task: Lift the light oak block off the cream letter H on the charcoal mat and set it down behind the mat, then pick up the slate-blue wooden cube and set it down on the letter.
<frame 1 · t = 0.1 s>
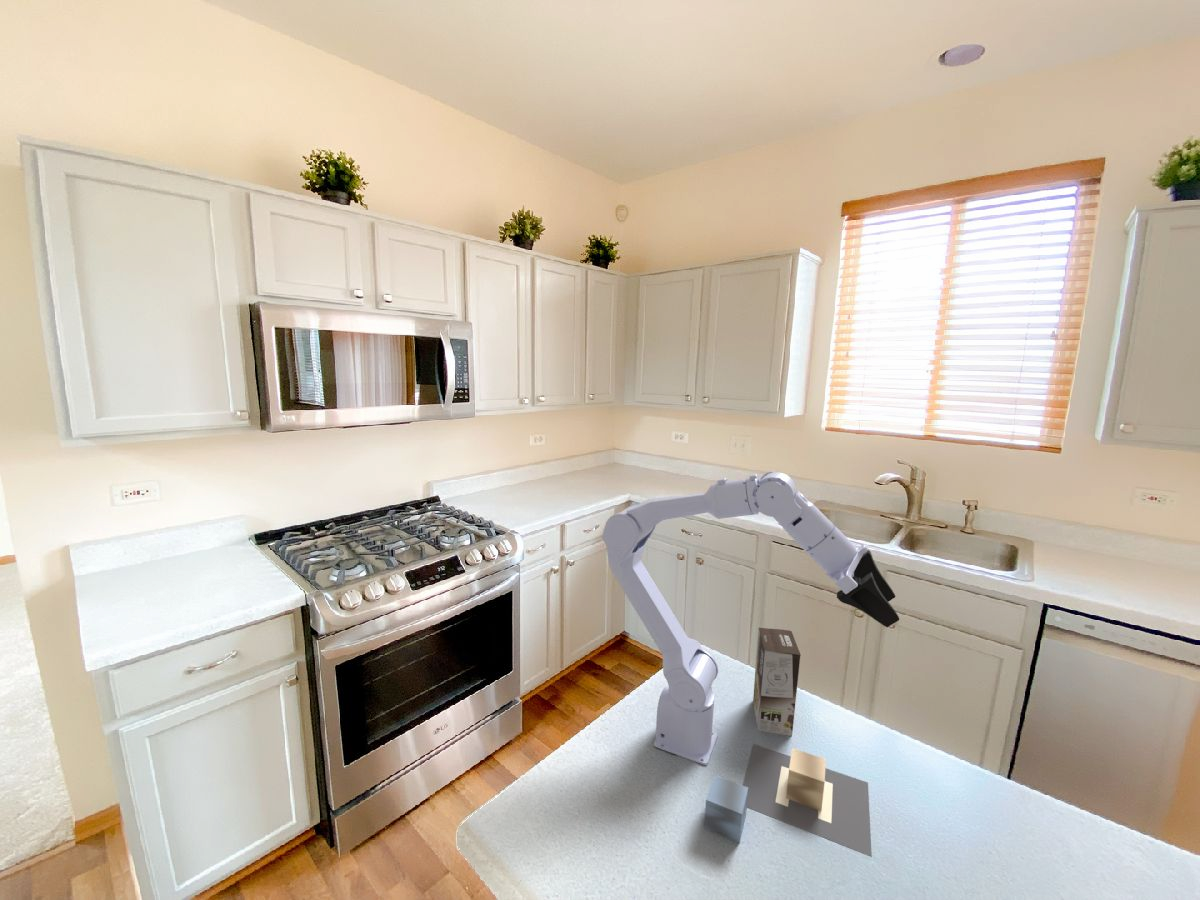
hand: (891, 610, 71), 32 cm above the counter, tool tilted 50°, fingers open, 7 cm apart
letter mat: (804, 793, 78), on the counter
slate blue cube: (725, 823, 73), on the counter
oak block: (804, 792, 78), resting on letter mat
coffee box: (771, 718, 95), on the counter
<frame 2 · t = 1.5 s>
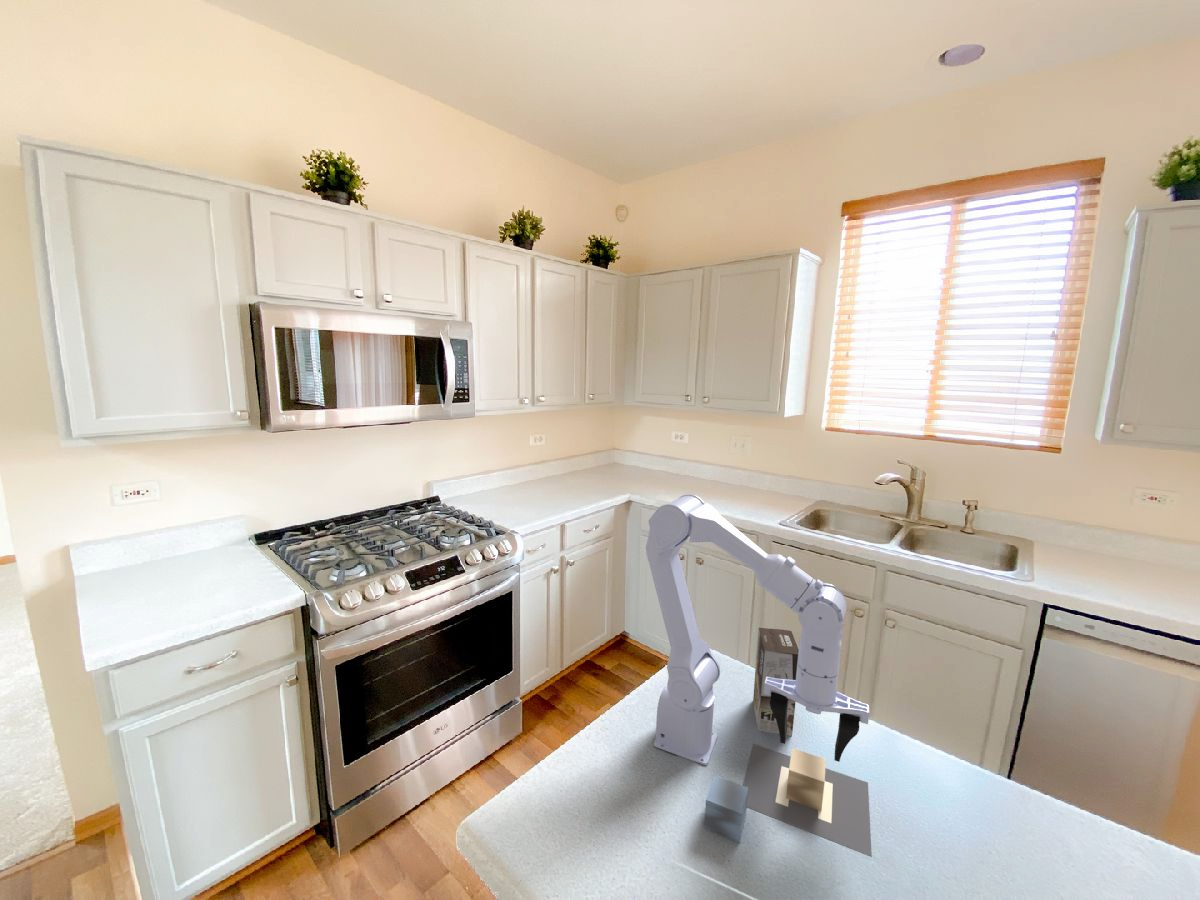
hand: (809, 747, 77), 8 cm above the counter, tool pointing down, fingers open, 7 cm apart
nothing on the counter moved.
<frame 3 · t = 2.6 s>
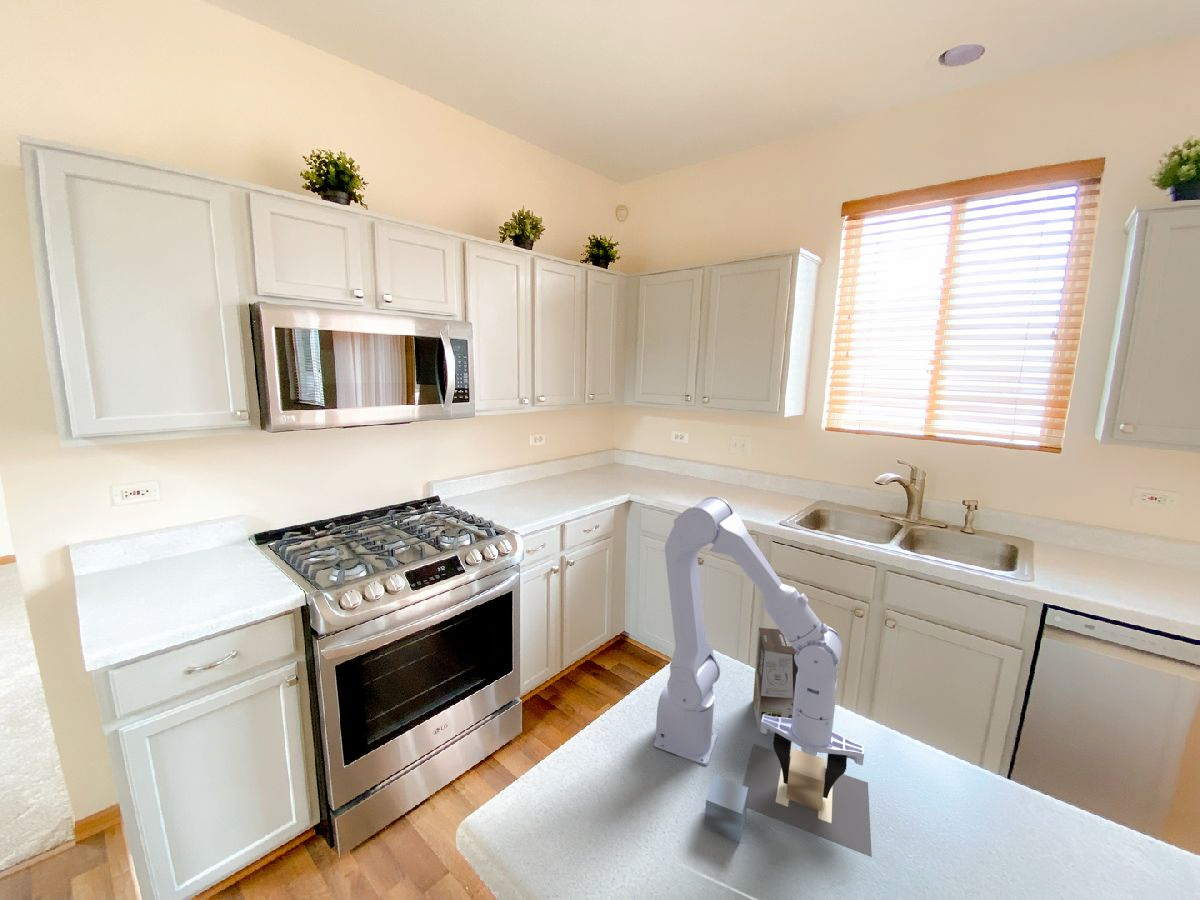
hand: (805, 785, 78), 1 cm above the counter, tool pointing down, fingers closed on oak block, 5 cm apart
oak block: (804, 792, 78), resting on letter mat, touching gripper
everything else where it was.
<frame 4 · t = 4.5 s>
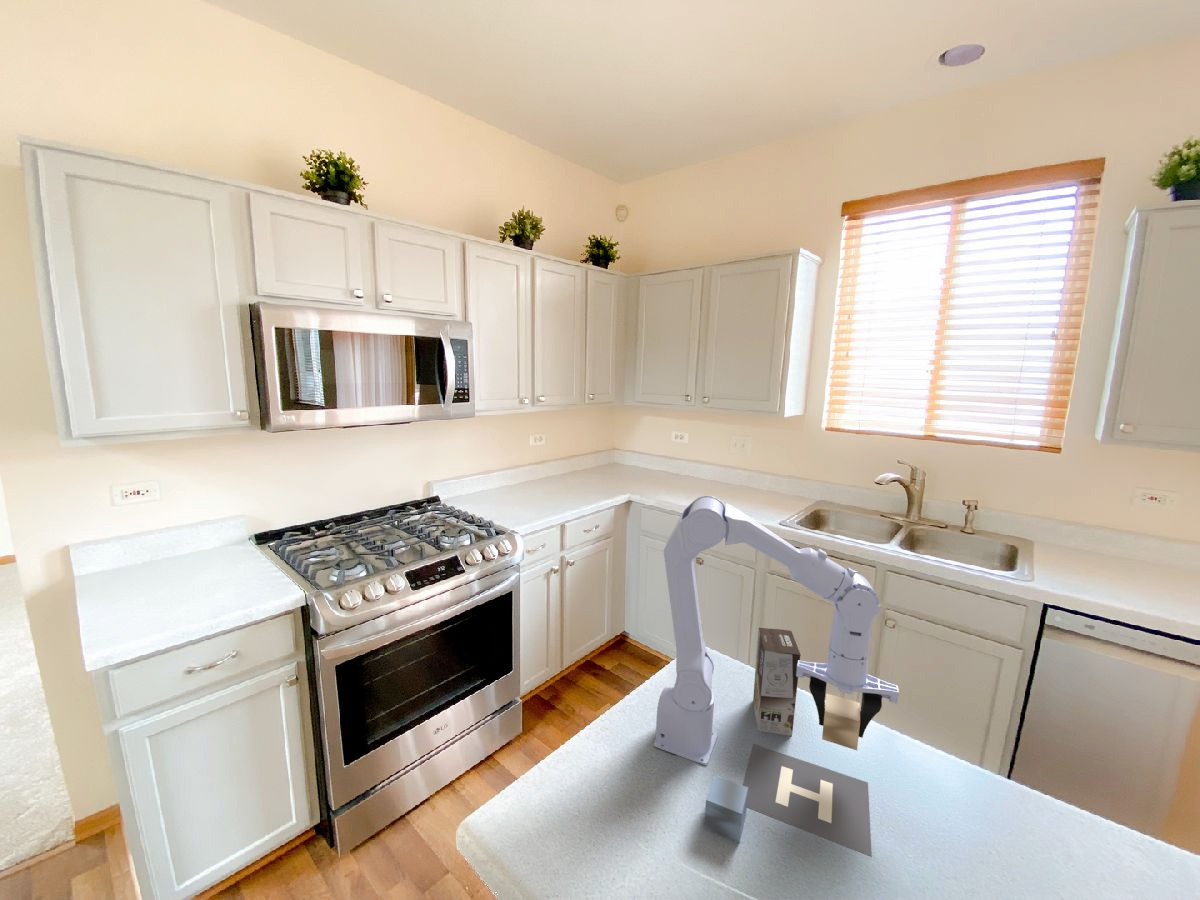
hand: (840, 727, 81), 9 cm above the counter, tool pointing down, fingers closed on oak block, 5 cm apart
oak block: (839, 734, 81), point 7 cm above the counter, touching gripper
everything else where it was.
when the fingers open (3 cm above the counter, at t = 6.4 s): oak block drops 2 cm, on the counter.
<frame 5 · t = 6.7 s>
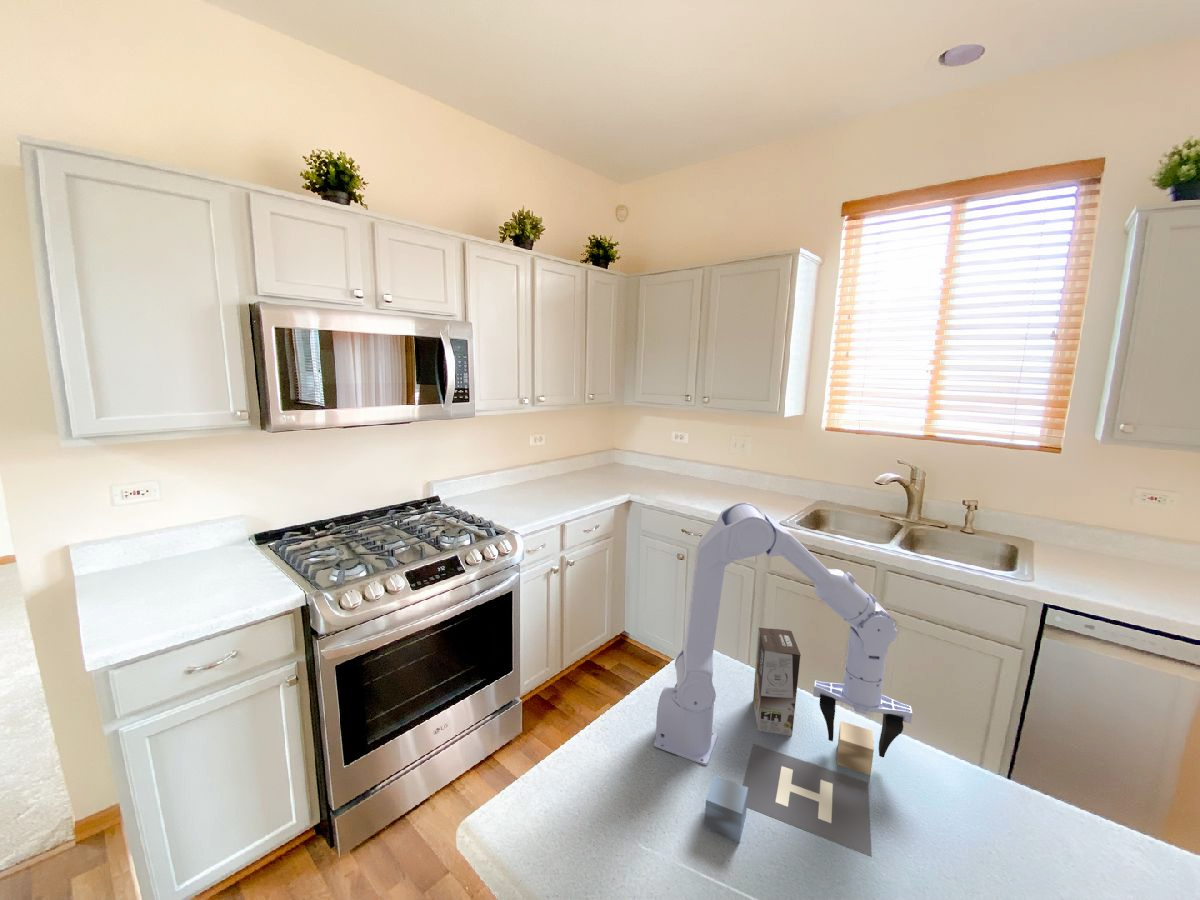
hand: (855, 744, 85), 3 cm above the counter, tool pointing down, fingers open, 7 cm apart
oak block: (853, 761, 85), on the counter
everything else where it was.
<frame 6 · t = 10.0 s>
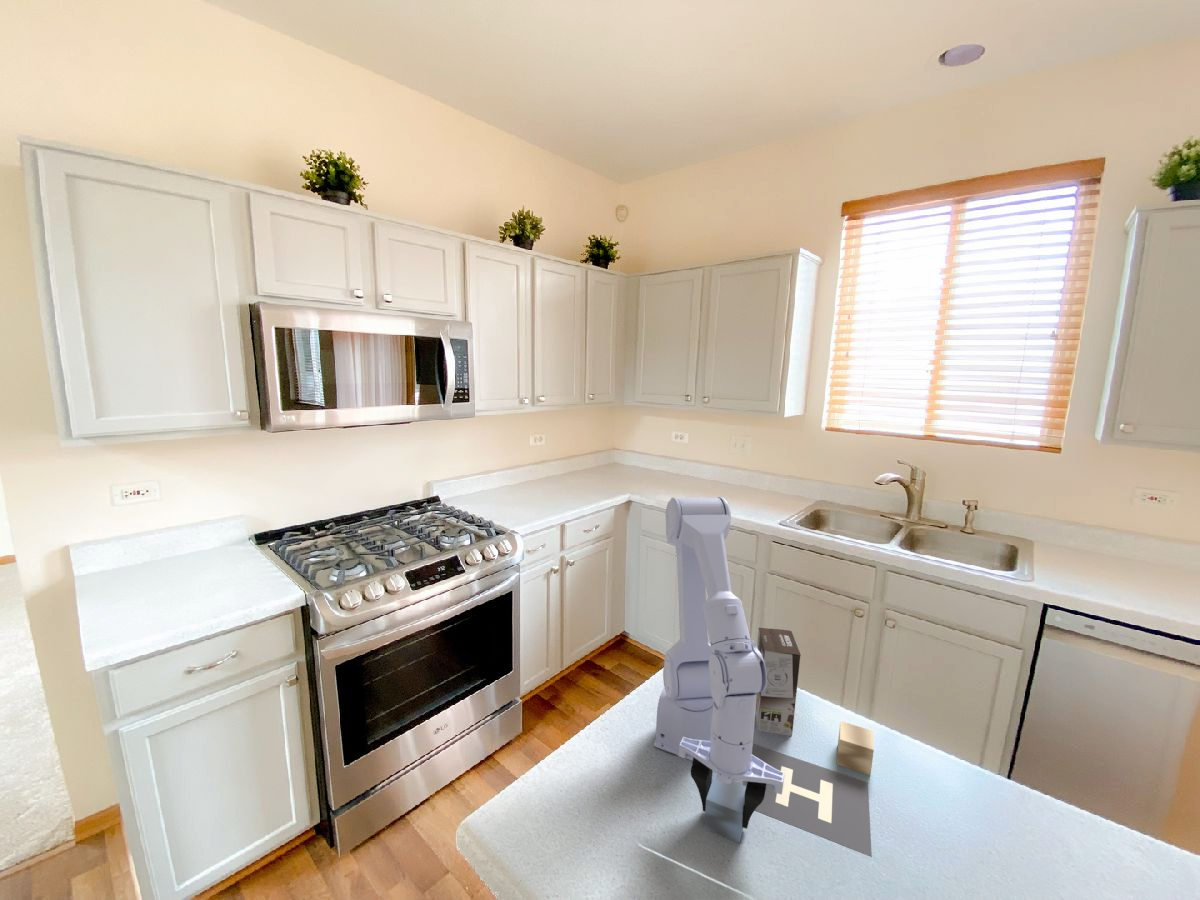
hand: (725, 814, 72), 1 cm above the counter, tool pointing down, fingers closed on slate blue cube, 5 cm apart
slate blue cube: (725, 823, 73), on the counter, touching gripper
everything else where it was.
when the fingers open (3 cm above the counter, at t = 13.9 s): slate blue cube drops 1 cm, resting on letter mat.
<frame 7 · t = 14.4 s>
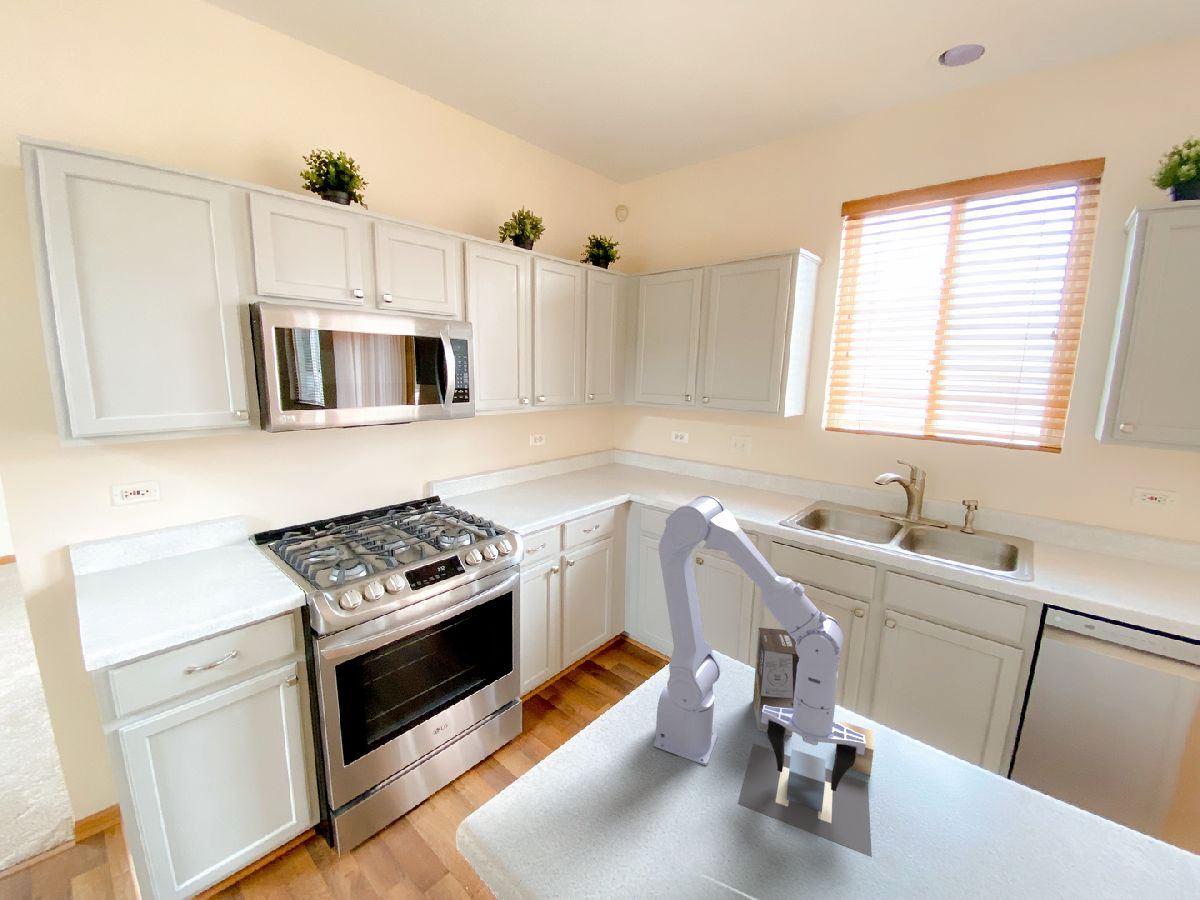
hand: (806, 776, 77), 3 cm above the counter, tool pointing down, fingers open, 7 cm apart
slate blue cube: (804, 793, 78), resting on letter mat
everything else where it was.
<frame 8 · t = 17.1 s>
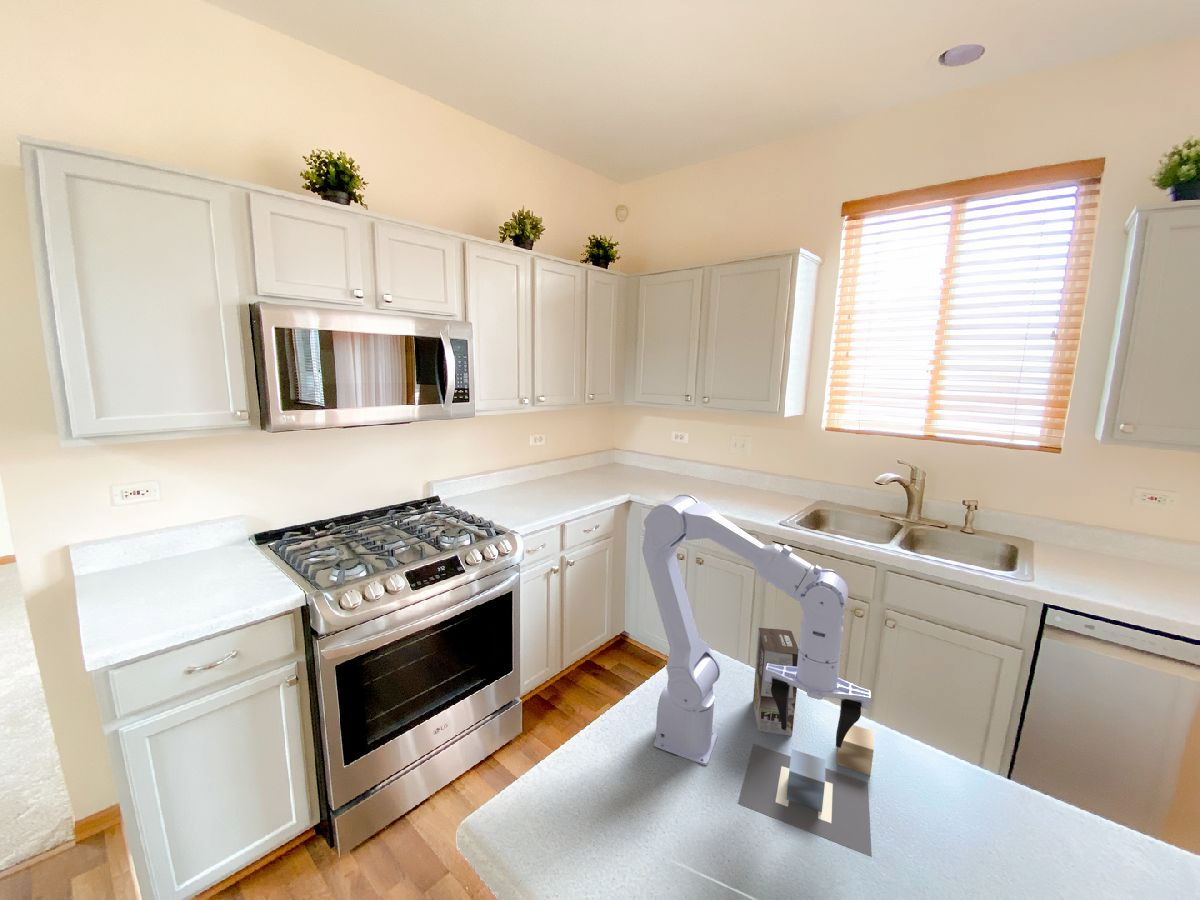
hand: (810, 734, 76), 10 cm above the counter, tool pointing down, fingers open, 7 cm apart
nothing on the counter moved.
at the end: oak block inside the target area (0.1 cm from its centre), on the counter; slate blue cube 0.2 cm off-centre on the letter mat, point 0.2 cm above the letter mat's base; the gripper is holding nothing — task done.
